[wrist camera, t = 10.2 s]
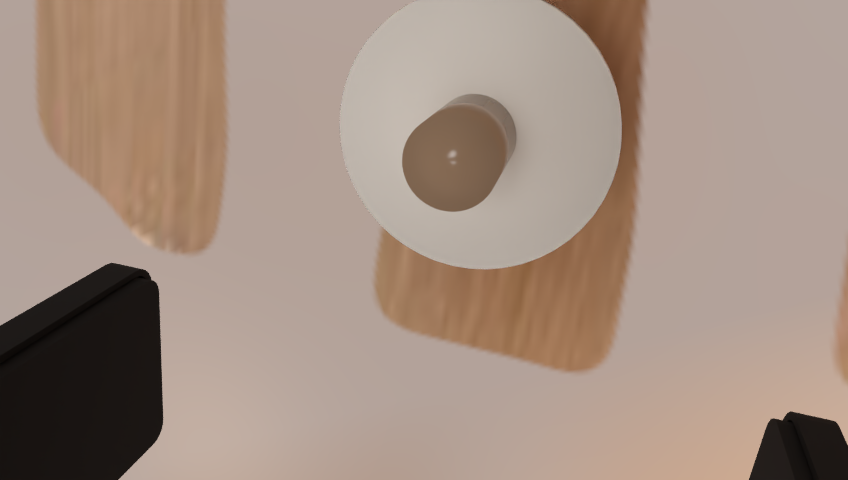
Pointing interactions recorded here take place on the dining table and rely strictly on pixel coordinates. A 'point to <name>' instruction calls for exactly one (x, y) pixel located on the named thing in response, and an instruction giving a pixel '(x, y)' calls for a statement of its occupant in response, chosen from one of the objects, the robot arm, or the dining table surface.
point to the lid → (481, 129)
